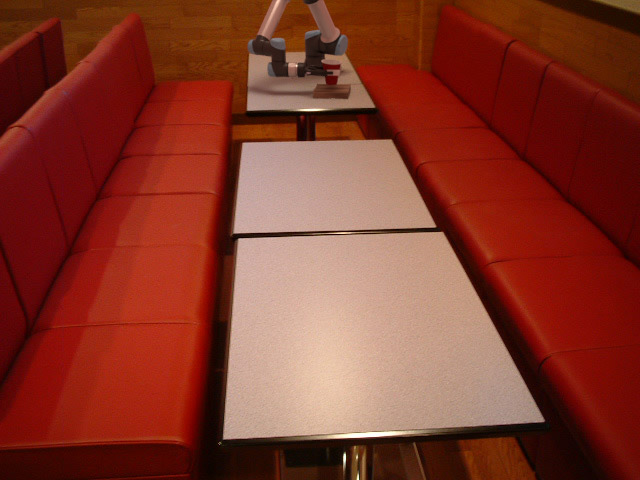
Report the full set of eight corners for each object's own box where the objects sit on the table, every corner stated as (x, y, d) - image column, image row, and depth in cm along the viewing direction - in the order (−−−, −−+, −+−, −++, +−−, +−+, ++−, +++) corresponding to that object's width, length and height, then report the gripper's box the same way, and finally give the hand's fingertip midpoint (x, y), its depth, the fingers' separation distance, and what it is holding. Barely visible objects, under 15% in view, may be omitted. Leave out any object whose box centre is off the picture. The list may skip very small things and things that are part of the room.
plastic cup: (342, 86, 327) (342, 62, 321) (321, 86, 327) (321, 63, 321) (342, 81, 336) (342, 58, 331) (321, 81, 336) (321, 58, 331)
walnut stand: (317, 89, 343) (317, 83, 342) (350, 89, 341) (350, 84, 340) (313, 98, 327) (312, 92, 326) (347, 98, 325) (347, 93, 324)
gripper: (300, 72, 342) (342, 73, 339) (294, 82, 323) (338, 83, 320) (300, 58, 338) (342, 58, 336) (294, 67, 319) (338, 67, 317)
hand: (340, 70), depth 328 cm, fingers closed on plastic cup, 9 cm apart
